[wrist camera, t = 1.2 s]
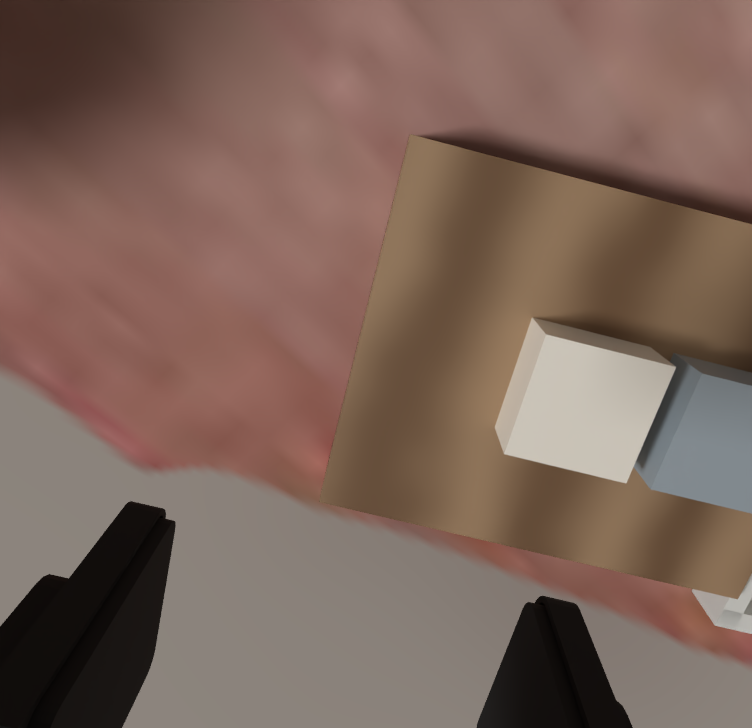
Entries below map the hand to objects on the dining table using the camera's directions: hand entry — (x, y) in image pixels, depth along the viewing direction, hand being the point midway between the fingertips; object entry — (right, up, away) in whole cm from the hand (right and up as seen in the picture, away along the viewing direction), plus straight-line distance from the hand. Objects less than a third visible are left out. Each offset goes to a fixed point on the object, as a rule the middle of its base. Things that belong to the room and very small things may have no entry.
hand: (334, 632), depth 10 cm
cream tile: (+9, +3, +16) cm, 19 cm away
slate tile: (+15, +2, +16) cm, 22 cm away
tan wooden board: (+10, +4, +19) cm, 22 cm away
